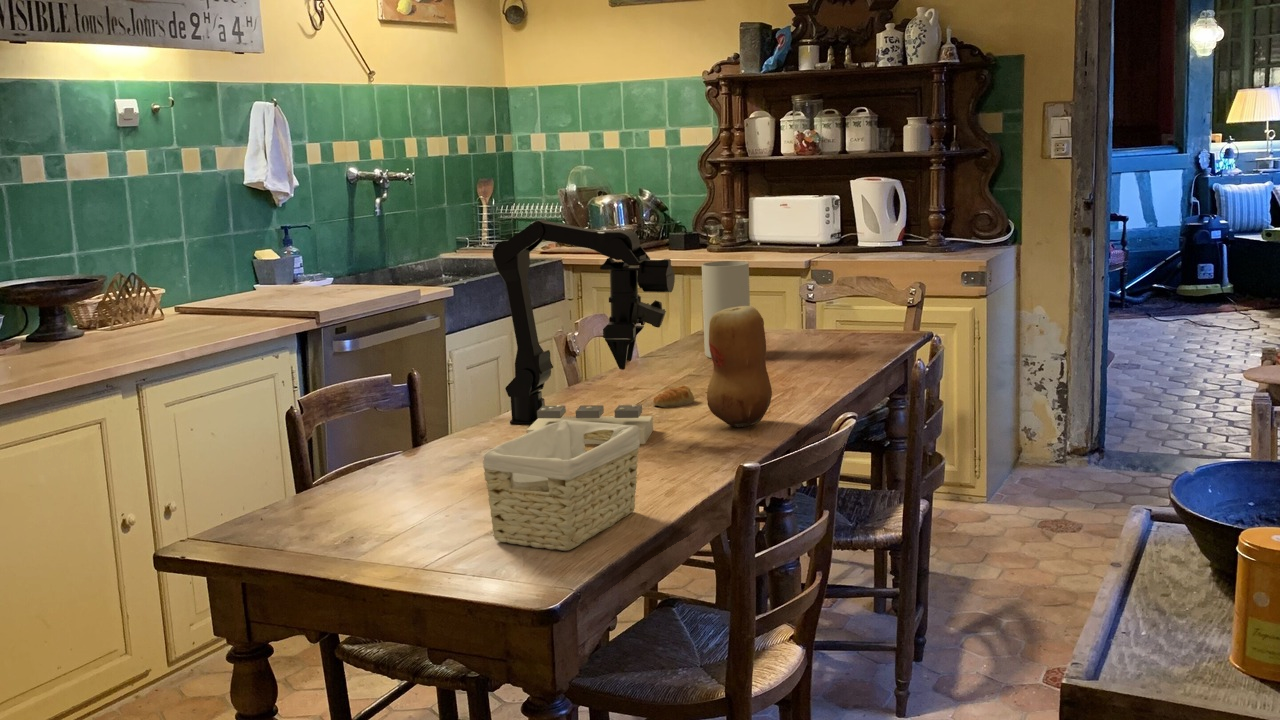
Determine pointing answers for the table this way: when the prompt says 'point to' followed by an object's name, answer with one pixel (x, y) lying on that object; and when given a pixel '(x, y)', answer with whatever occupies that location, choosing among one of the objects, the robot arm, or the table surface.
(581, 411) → the button one pip
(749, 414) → the butternut squash
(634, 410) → the button two pips
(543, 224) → the robot arm
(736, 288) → the cylinder vase
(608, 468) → the storage basket
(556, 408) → the button three pips
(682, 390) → the pastry
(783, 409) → the table surface
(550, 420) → the panel
